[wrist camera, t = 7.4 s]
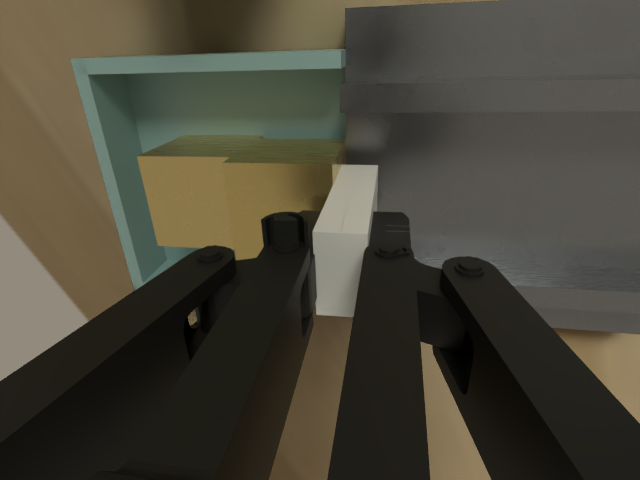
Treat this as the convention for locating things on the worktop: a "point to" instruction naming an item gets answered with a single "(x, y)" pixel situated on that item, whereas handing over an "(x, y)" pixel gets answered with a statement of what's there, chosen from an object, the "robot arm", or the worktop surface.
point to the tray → (197, 119)
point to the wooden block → (190, 189)
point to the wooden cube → (277, 183)
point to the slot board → (509, 142)
